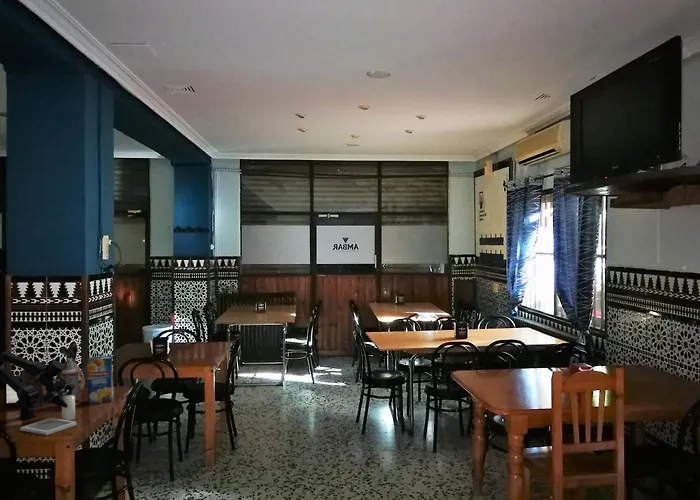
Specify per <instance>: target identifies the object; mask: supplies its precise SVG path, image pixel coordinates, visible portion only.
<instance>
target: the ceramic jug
mask: <svg viewBox="0 0 700 500" xmlns="http://www.w3.org/2000/svg"><path fill="white" fill-rule="evenodd" d="M61 351H62V352H61V353H62V355H64V356H65V357H67V358H66V360H65V362H64V364H63V365H64V368H63V369H62V370H61V371H60V373H59V374H58V375H57V376H55V380H57V379H59V380H62V379H63V375H62V372H63V371H65V370H66V369H67V363H68V358H72V362H73V367H74V369H76V370H78V385H79V395H80V393H82V391H83V389H84V388H85V385H86V381H85V376H84V373H83V371H82V370H81V368H80V366H79V365H78V364H77V363H76V358H77V352H78V345H77V344H76V343H71V344H70V345H69V347H68V348H67V347H66V348H64V349H62V350H61ZM62 396H63V395H62V394H61V397H62Z"/></svg>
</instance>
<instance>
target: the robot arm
mask: <svg viewBox="0 0 700 500" xmlns="http://www.w3.org/2000/svg"><path fill="white" fill-rule="evenodd" d="M5 363H8V364H10V365H13V366H15V367H17V368H19V369H23V370H25V372H26V373H28V374H29V375H31V376H36V375H39V374H41V375H40V376H39V377H36V378H35V379H36V380H35V383H38V382H41V383H42V385H43V386H44V392H45V391H46V392H47V390H48V391H49V393H48V394H47V395H46V394H45V395H46V396H45V397H44V398H43V402H44V405H45V404H52V405H57V406H60V407H61V408H62V407H65V408H67V407H68V406H67V404H66V403H65V402H64V400H63V399H62V398H61V394H62V395H64V396H66V395H72V390H73V389H74V388H75V387H76V386H75V385H74V384H69V385H67V386H66V387H65V385H66V384H68V383H71V380H72V378H71V377H70V376H69V375H67V376H65V377H64V379H62V380H59V379H57V380H56V377H57V375H58V374H59V373H60V371H61V370H62V369H63V368H64V364H63V362H61V361H59V360H56V359H54V358H53V359H51V360H50V362H49V363H48V364H45V363H44V362H42V361H37V360H34V361H33V360H28V359H26V358H23V357H21V356H18V355H16V354H15V353H11V352H10V351H4V352H1V353H0V379H1V381H2V382H4V383H5V384H6V385H7V386H8V387H10V389H12V390H13V391H14V392H15V393H16V396H17V401H16V402H15V403H14V406H15V408H17V409H19V410H18V414H19V416H17V417H16V419H18V420H22V421H25V420H28V419H31V418H36V417H37V415H35V414H34V412H35V411H34V408H33V404H34V403H36V401H37V399H38V396H39V395H38V394H39V393H38V391H36V390H37V389H35V388H34V387H33V386H32V385H29V386H25V385H24V384H23V381H21V380H19V379H18V378H17V377H16V376H15V375H14V374H13V373H11V371H9V370H8V369H7V367H5ZM64 387H65V388H64ZM63 388H64V389H63ZM75 403H76V402H75Z"/></svg>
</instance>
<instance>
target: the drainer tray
mask: <svg viewBox="0 0 700 500" xmlns="http://www.w3.org/2000/svg"><path fill="white" fill-rule="evenodd" d="M74 426H77V421H76V420H75V421H73V420H62V418H56V417H55V418H54V417H49V418H45V419H43V420H39V421H36V422H32V423H30V424H27V425H22V426H20V428H19V429H20V430H19V431H22V432H25V431H26V433H32V434H36V435H42V436H48V435H52V434H55V433H57V432H60V431H63V430H66V429H70V428H73V427H74Z"/></svg>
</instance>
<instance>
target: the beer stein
mask: <svg viewBox="0 0 700 500" xmlns="http://www.w3.org/2000/svg"><path fill="white" fill-rule="evenodd" d="M40 375H41V374H39V375H36V376H31V375H29V374H28V373H26V372H25V370H24V369H23V370H22V372H21V376H22V379H21V380H22V383H23V384H24V385H25V386H29V385H32V386H33V387H34V388H35V389H37V390H36V391H38V393H39V394H38V395H39V396H38V399H37V401H36V403H34V404H33V409H35V408H39V407H42V406H44V405H45V403H44V402H43V398H44V397H45V396H46V395H47V394H48V393H49V391H48V390H47V391H46V393H45V387H44V386H43V385H42V383H41V382H38V383H35V380H36V379H35V378H36V377H39V376H40Z"/></svg>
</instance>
